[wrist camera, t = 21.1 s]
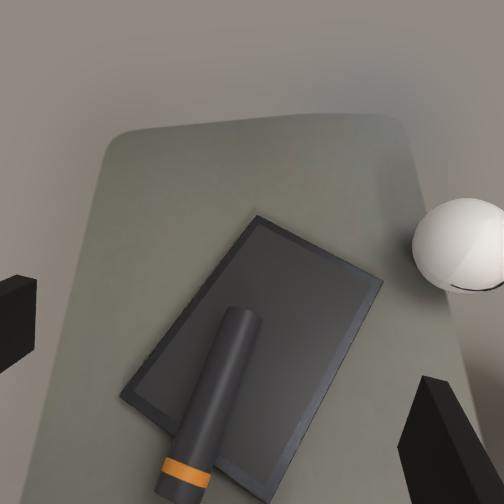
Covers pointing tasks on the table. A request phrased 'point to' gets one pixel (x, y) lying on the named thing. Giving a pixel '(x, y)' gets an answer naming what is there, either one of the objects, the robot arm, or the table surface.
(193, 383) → the tablet
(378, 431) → the table surface
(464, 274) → the white sphere
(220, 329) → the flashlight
